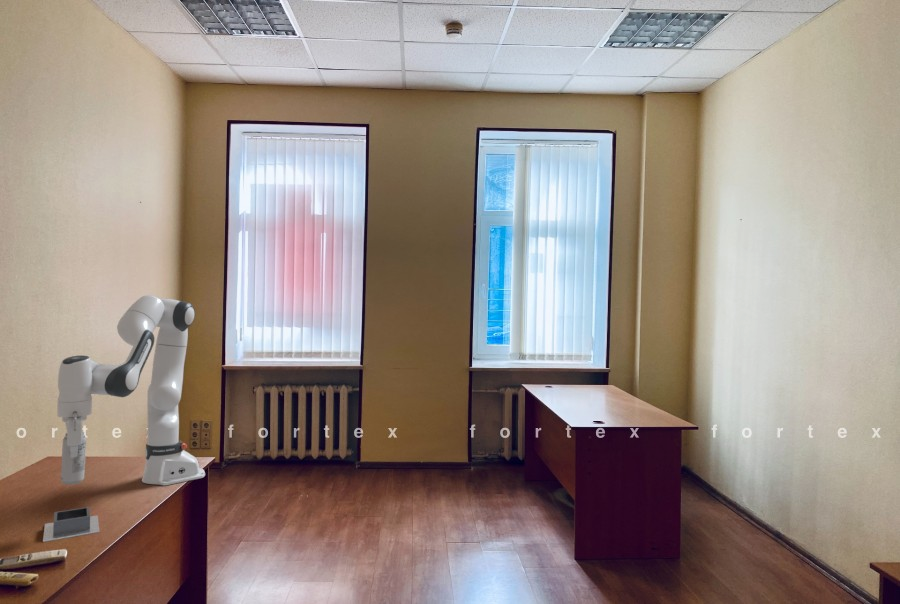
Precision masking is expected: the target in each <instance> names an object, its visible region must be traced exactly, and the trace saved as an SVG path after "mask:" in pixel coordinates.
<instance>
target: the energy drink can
mask: <svg viewBox="0 0 900 604" xmlns="http://www.w3.org/2000/svg"><path fill="white" fill-rule="evenodd" d="M86 446H87V437H86V435H85V432H84V431H82V444H81V445H78V456H77V457H74V458H71V457H70V446H68V445H67V432H65V436H64V438H63V439H62V451H61V471H60V481H61V482H62V484H63V485H65V486H66V485H68V486H69V485H70V486H72V485H76V484H77V485H78V484H81V483H82V482H83V480H84V479H85V472H86V471H85V470H86V469H85V466H86V450H87V449H86V448H87V447H86Z"/></svg>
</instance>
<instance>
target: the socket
mask: <svg viewBox="0 0 900 604" xmlns="http://www.w3.org/2000/svg"><path fill="white" fill-rule="evenodd" d="M43 531H44V532H43V538H42V542H43V543H46V542H51V541H58V540H62V539H68V538H73V537H80V536H85V535H90V534H91V535H92V534H96V533H100V525H99V516H98V515H92V516H91V509H90V506H86V507H80V508H73V509H67V510H66V509H65V510H60V511H54V513H53V522H48V523H44V529H43Z"/></svg>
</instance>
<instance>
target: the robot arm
mask: <svg viewBox="0 0 900 604" xmlns="http://www.w3.org/2000/svg"><path fill="white" fill-rule="evenodd" d="M195 318H196V311H195V308H194V305H193V304H191V303H190V302H187V301H186V300H177V299H172V298H162V297H161V298H159V297H158V296H155V295H152V294H146V295H142V296H141V297H140V298H138V299H136V301H135V302H134V303H133V304H132V305H130V307H129V308H128V309H127V310H126V311H125V313H124V314H123V315H122V317H120V319H119V320H118V323H117V325H116V329H117V333H118V335H119V337H120V338H121V339H122V340H123V341H124V342H125V343H126V344H128V345H130V346H132V348H131V350H130V352H129V354H128V356H127V357H126V359H125V361H124V362H122V363H119V364H116V365H115V364H103V363H99V362H96V361H93V360H92V359H91V357H90V356H88V355H72V356H69V357H66V358H64V359H63V360H62V361H61V363H60V365H59V367H58V369H59V370H58V375H57V376H58V377H57V378H58V379H57V388H58V398H57V411H56V412H57V414H56V415H57V417H59V418H61V421H62V422H64V423H65V427H66V429H65V430H66V433H67V445H68V446H70V457H71V458H74V457H77V456H78V445H81V444H82V432H83V421H86V420H87V418H88V417H87V416H90V415H91V414H92V411H93V409H92V408H93V407H92V404H93V397H92V394H93V395H101V396H111V397H112V396H113V397H117V398H125V397H128V396H130V395H131V394H132V393H134V391H135V390H136V389H137V387H138V385H139V382H140V377H141V375H142V371H143V369H144V367H145V366H146V363H147V361H148V358H149V356H150V354H151V352H152V349H153V347H154V344H155V348H154V354H153V363H152V370H151V381H150V383H149V385H148V388H147V393H146V394H147V396H146V397H147V401H146V402H147V443H146V445H145V450H144V451H145V453H144V455H145V466H144V470H143V471H144V472H143V476H142V478H141V482H142V483H143V484H148V485H157V486H158V485H159V486H170V485H174V484H179V483H184V482H188V481H189V482H190V481H194V480H198V479H202V478H204V477H205V476H206V472H205V470H204V469H203V468H201V467H200V465H199V461H198V459H197V458H196V456H194V455H192V454H191V453H189V452H188V451H186V449H187V448H188V445H187V444H186V443H185V442H183V441H182V440H179V438H180V437H179V436H180V434H179V433H180V417H179V416H180V415H179V404H180V401H181V399H182V394H183V393H182V391H183V382H184V367H185V361H186V355H187V347H188V337H189V335H188V333H189V331H188V330H189V329H188V328H190V327H191V325H192V324H193V322H194V321H195ZM157 328H159V329H158V333H157V336H156V340H155V334H154V331H155V329H157ZM155 341H156V342H155Z"/></svg>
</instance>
